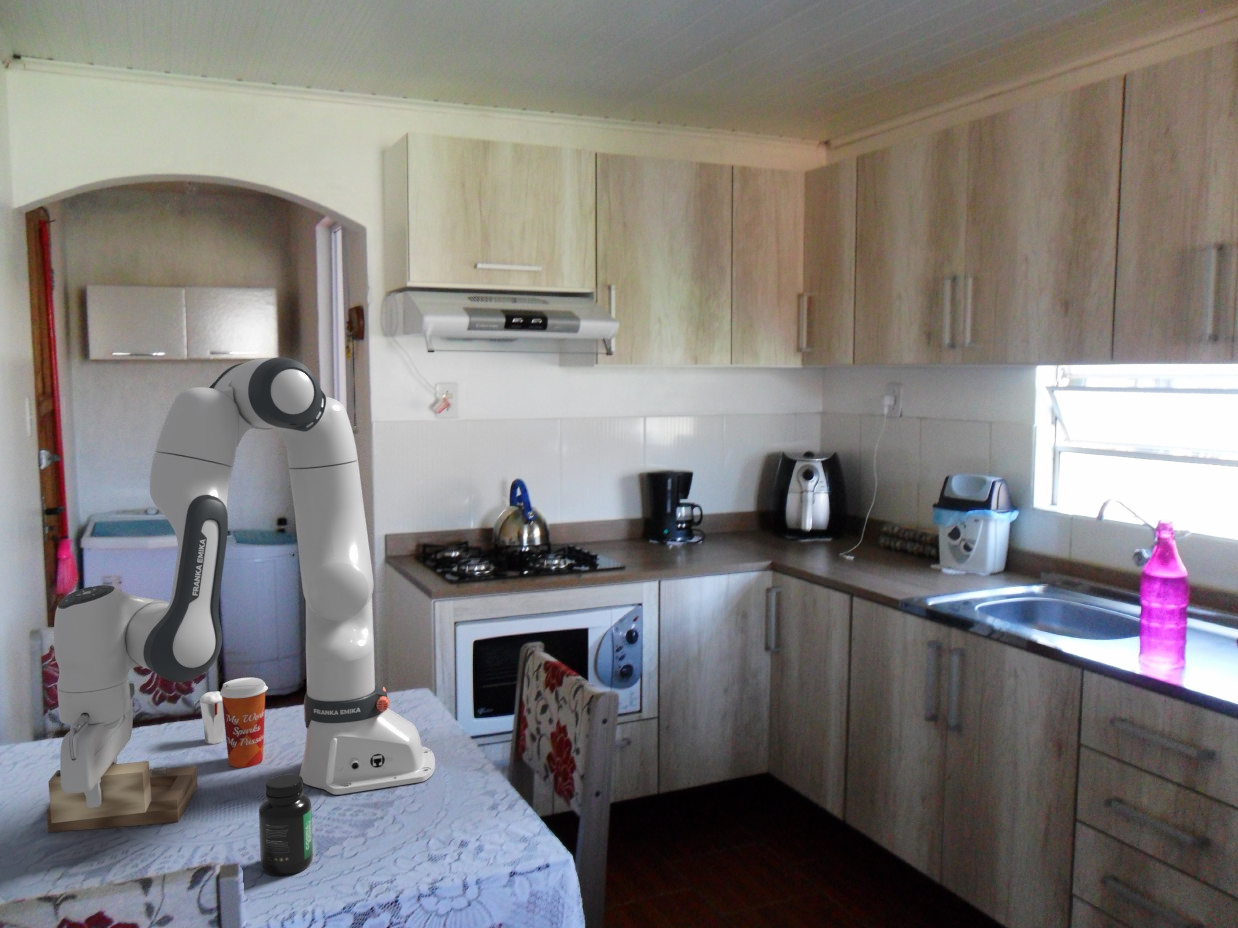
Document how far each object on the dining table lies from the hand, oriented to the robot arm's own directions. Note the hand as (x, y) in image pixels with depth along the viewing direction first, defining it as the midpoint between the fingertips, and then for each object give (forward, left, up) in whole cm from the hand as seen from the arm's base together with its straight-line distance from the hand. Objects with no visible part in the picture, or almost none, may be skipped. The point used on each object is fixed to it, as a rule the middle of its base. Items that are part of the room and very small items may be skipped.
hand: (101, 796), depth 140 cm
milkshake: (-7, -40, -8) cm, 42 cm away
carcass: (+1, -13, -8) cm, 15 cm away
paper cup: (-14, -29, -8) cm, 33 cm away
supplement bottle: (-26, +10, -8) cm, 29 cm away
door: (0, 0, -2) cm, 2 cm away
